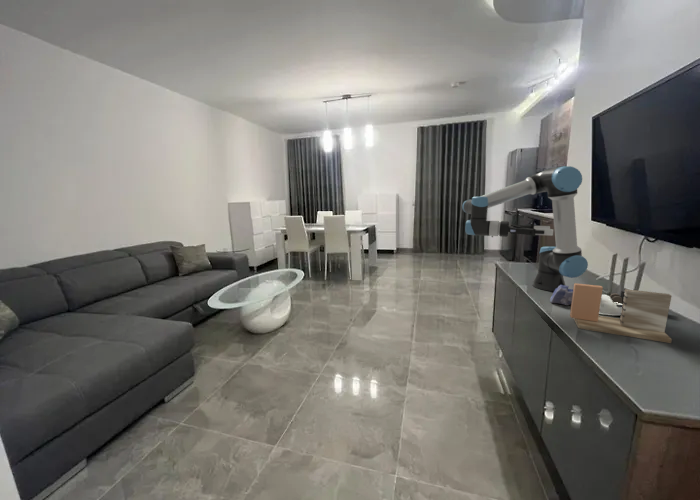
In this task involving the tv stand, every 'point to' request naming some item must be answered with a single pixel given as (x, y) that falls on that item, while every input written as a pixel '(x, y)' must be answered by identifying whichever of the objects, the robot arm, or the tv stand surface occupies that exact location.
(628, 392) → the tv stand surface
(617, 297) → the figurine character
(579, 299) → the orange rectangular panel
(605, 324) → the stand
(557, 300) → the mineral
